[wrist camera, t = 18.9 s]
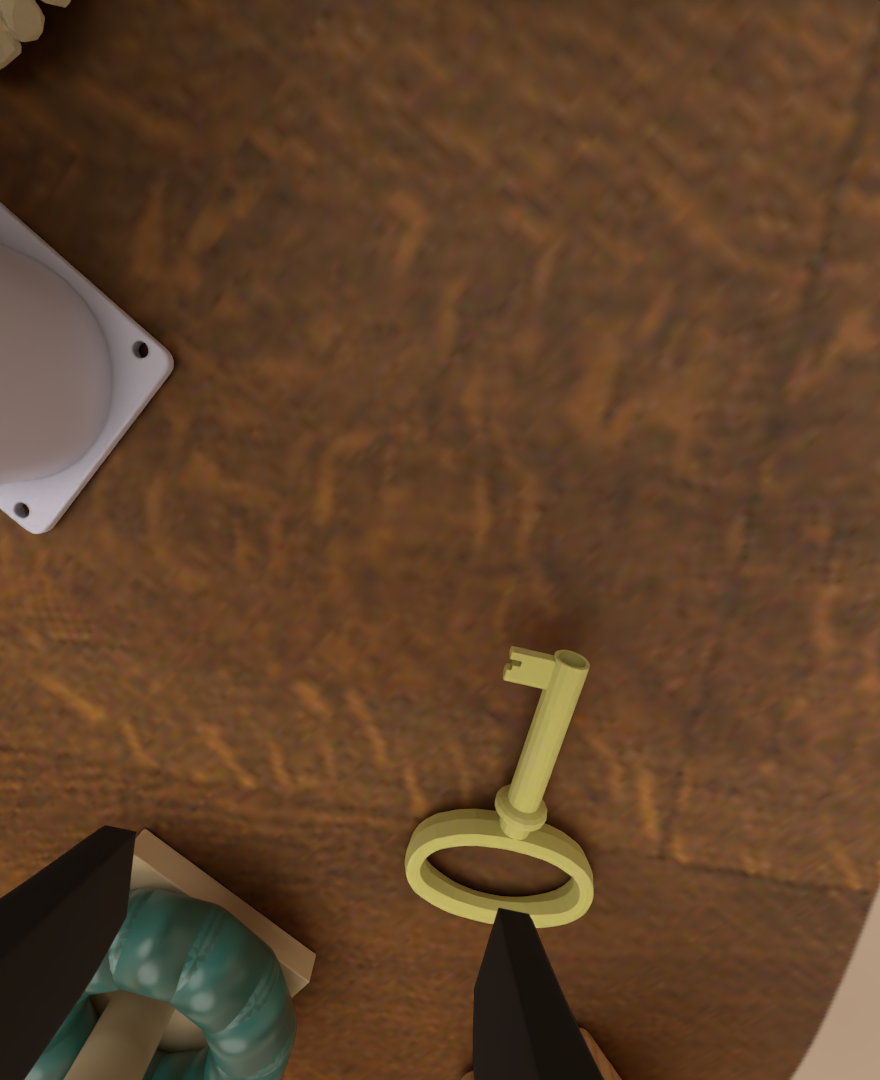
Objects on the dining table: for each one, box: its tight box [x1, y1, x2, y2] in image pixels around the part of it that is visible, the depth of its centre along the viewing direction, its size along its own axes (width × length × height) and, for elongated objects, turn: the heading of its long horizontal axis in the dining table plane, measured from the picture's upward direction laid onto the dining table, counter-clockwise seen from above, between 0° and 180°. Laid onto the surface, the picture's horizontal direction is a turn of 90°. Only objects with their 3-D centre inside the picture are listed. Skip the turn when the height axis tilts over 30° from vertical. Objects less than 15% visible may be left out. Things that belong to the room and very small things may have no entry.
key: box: [405, 646, 594, 928], centre depth 20 cm, size 7×12×2 cm, turn 5°
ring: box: [25, 887, 297, 1080], centre depth 21 cm, size 11×11×3 cm
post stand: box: [64, 829, 316, 1080], centre depth 20 cm, size 9×9×7 cm
